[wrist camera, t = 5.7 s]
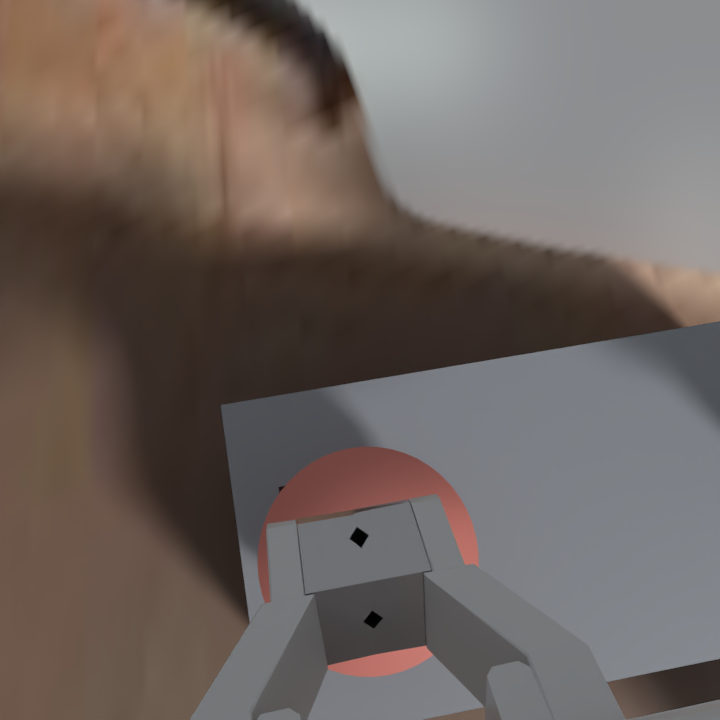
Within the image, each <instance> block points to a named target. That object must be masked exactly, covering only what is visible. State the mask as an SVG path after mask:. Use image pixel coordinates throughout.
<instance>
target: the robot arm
mask: <svg viewBox="0 0 720 720" xmlns="http://www.w3.org/2000/svg"><path fill="white" fill-rule="evenodd" d="M266 539H267V555H268V571H269V587H270V602H269V603H264V604H261V606H260V608H259V609H258V611H257V612H256V614H255V616H254V617H253V619H252V620H251V622H250V624H249V625H248V627H247V629H246V630H245V632H244V633H243V635H242V637H241V638H240V640H239V641H238V643H237V645H236V646H235V648H234V649H233V651H232V653H231V654H230V656H229V658H228V659H227V661H226V662H225V664H224V666H223V667H222V669H221V670H220V672H219V674H218V675H217V677H216V678H215V680H214V682H213V683H212V685H211V686H210V688H209V690H208V691H207V693H206V695H205V696H204V698H203V699H202V701H201V703H200V704H199V706H198V707H197V709H196V711H195V712H194V714H193V715H192V717H191V719H190V720H307V719H308V716H309V714H310V712H311V709H312V707H313V704H314V702H315V699H316V697H317V694H318V692H319V689H320V687H321V685H322V682H323V680H324V677H325V675H326V672H327V670H328V666H327V665H332V664H336V663H340V662H345V661H349V660H353V659H358V658H362V657H367V656H371V655H375V654H381V653H387V652H392V651H398V650H404V649H410V648H416V647H421V646H427V649H428V650H429V651H430V652H431V653H432V654H433V655H434V656H435V657H436V658H437V659H438V660H439V661H440V662H441V663H442V664H443V665H444V666H445V667H446V668H447V669H448V670H449V671H450V672H451V673H452V674H453V675H454V676H455V677H456V678H457V679H458V680H459V681H460V682H461V683H462V684H463V685H464V686H465V687H466V688H467V689H468V690H469V691H470V692H471V694H472V695H473V696H474V697H475V698H476V699H477V700H478V701H479V702H480V703H481V704H482V705H483V706H484V707H485V708H486V713H485V720H626V719H625V717H624V715H623V713H622V711H621V709H620V707H619V705H618V704H617V702H616V700H615V698H614V696H613V694H612V692H611V690H610V688H609V686H608V684H607V682H606V680H605V678H604V676H603V674H602V672H601V670H600V668H599V666H598V664H597V662H596V660H595V658H594V656H593V654H592V652H591V650H590V648H589V646H588V645H587V644H586V643H584V642H583V641H581V640H580V639H579V638H577V637H576V636H574V635H573V634H572V633H570V632H569V631H567V630H566V629H565V628H563V627H562V626H560V625H559V624H558V623H556V622H555V621H553V620H552V619H551V618H549V617H548V616H546V615H545V614H544V613H542V612H541V611H539V610H538V609H537V608H535V607H534V606H532V605H531V604H530V603H528V602H527V601H525V600H524V599H523V598H521V597H520V596H518V595H517V594H516V593H514V592H513V591H511V590H510V589H508V588H507V587H506V586H504V585H503V584H501V583H500V582H499V581H497V580H496V579H494V578H493V577H492V576H490V575H489V574H487V573H486V572H485V571H483V570H482V569H480V568H479V567H478V566H476V565H475V564H469V565H465V563H464V560H463V558H462V555H461V552H460V550H459V547H458V545H457V542H456V539H455V537H454V534H453V532H452V529H451V526H450V524H449V521H448V518H447V516H446V513H445V511H444V508H443V505H442V503H441V500H440V497H439V496H437V495H436V494H432V495H427V496H422V497H416V498H411V499H408V500H407V499H406V500H400V501H395V502H390V503H385V504H379V505H374V506H369V507H364V508H358V509H353V510H350V511H343V512H337V513H330V514H324V515H317V516H311V517H304V518H298V519H297V521H296V520H289V521H282V522H276V523H269V524H267V528H266ZM628 720H720V700H715V701H711V702H706V703H701V704H697V705H692V706H688V707H683V708H678V709H674V710H669V711H665V712H660V713H655V714H651V715H646V716H642V717H637V718H633V719H628Z"/></svg>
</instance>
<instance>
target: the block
mask: <svg viewBox="0 0 720 720" xmlns="http://www.w3.org/2000/svg"><path fill="white" fill-rule="evenodd" d="M221 412H222V419H223V427H224V434H225V442H226V449H227V457H228V464H229V472H230V479H231V486H232V494H233V501H234V509H235V516H236V524H237V531H238V539H239V546H240V554H241V561H242V569H243V576H244V584H245V591H246V599H247V606H248V614H249V621H250V622H251V620H252V619H253V617H254V616H255V614H256V612H257V611H258V609H259V608H260V606H261V604H264V603H265V601H264V599H263V596H262V592H261V588H260V583H259V577H258V563H257V562H258V547H259V541H260V535H261V531H262V528H263V525H264V522H265V519H266V516H267V514H268V512H269V510H270V508H271V506H272V504H273V502H274V501H275V499H276V497H277V496H278V494H279V493H280V492H281V490H282V489H283V488H284V487H285V485H286V484H287V483H288V482H289V481H290V480H291V479H292V478H293V477H294V476H295V475H296V474H297V473H298V472H299V471H301V470H302V469H303V468H305V467H306V466H308V465H309V464H310V463H312V462H314V461H316V460H318V459H319V458H321V457H323V456H326V455H328V454H331V453H333V452H336V451H340V450H344V449H348V448H355V447H381V448H388V449H393V450H396V451H400V452H403V453H406V454H408V455H410V456H413V457H415V458H417V459H419V460H421V461H422V462H424V463H426V464H427V465H429V466H430V467H432V468H433V469H434V470H435V471H437V472H438V473H439V474H440V475H441V476H442V477H443V478H444V479H445V480H446V481H447V482H448V483H449V484H450V485H451V486H452V487H453V489H454V490H455V491H456V493H457V494H458V495H459V497H460V498H461V500H462V502H463V504H464V506H465V507H466V509H467V511H468V514H469V516H470V519H471V521H472V523H473V527H474V531H475V535H476V539H477V546H478V556H479V568H480V569H482V570H483V571H485V572H486V573H487V574H489V575H490V576H492V577H493V578H494V579H496V580H497V581H499V582H500V583H501V584H503V585H504V586H506V587H507V588H508V589H510V590H511V591H513V592H514V593H516V594H517V595H518V596H520V597H521V598H523V599H524V600H525V601H527V602H528V603H530V604H531V605H532V606H534V607H535V608H537V609H538V610H539V611H541V612H542V613H544V614H545V615H546V616H548V617H549V618H551V619H552V620H553V621H555V622H556V623H558V624H559V625H560V626H562V627H563V628H565V629H566V630H567V631H569V632H570V633H572V634H573V635H574V636H576V637H577V638H579V639H580V640H581V641H583V642H584V643H586V644H587V645H588V646H589V648H590V650H591V652H592V654H593V656H594V658H595V660H596V662H597V664H598V666H599V668H600V670H601V672H602V674H603V676H604V678H605V680H606V682H609V681H614V680H618V679H623V678H628V677H633V676H638V675H643V674H648V673H653V672H658V671H662V670H667V669H672V668H677V667H682V666H687V665H692V664H697V663H702V662H706V661H711V660H716V659H720V322H714V323H708V324H702V325H696V326H690V327H684V328H678V329H672V330H666V331H660V332H654V333H648V334H642V335H636V336H630V337H624V338H618V339H612V340H606V341H600V342H594V343H588V344H582V345H576V346H570V347H564V348H558V349H552V350H546V351H541V352H535V353H529V354H523V355H517V356H511V357H505V358H499V359H493V360H487V361H481V362H475V363H469V364H463V365H457V366H451V367H445V368H439V369H433V370H427V371H421V372H415V373H409V374H403V375H397V376H391V377H385V378H379V379H373V380H367V381H361V382H355V383H349V384H343V385H337V386H331V387H325V388H319V389H313V390H307V391H301V392H296V393H290V394H284V395H278V396H272V397H266V398H260V399H254V400H248V401H242V402H236V403H230V404H224V405H221ZM481 707H484V706H483V705H482V704H481V703H480V702H479V701H478V700H477V699H476V698H475V697H474V696H473V695H472V694H471V692H470V691H469V690H468V689H467V688H466V687H465V686H464V685H463V684H462V683H461V682H460V681H459V680H458V679H457V678H456V677H455V676H454V675H453V674H452V673H451V672H450V671H449V670H448V669H447V668H446V667H445V666H444V665H443V664H442V663H441V662H440V661H439V660H438V659H437V658H436V657H435V656H434V655H432V656H431V657H430V658H428V659H427V660H425V661H423V662H422V663H420V664H418V665H416V666H414V667H412V668H409V669H407V670H405V671H402V672H398V673H395V674H391V675H385V676H377V677H358V676H352V675H345V674H342V673H338V672H335V671H332V670H329V669H328V670H327V672H326V675H325V677H324V680H323V682H322V685H321V687H320V689H319V692H318V694H317V697H316V699H315V702H314V704H313V707H312V709H311V712H310V714H309V716H308V719H307V720H423V719H428V718H433V717H437V716H442V715H447V714H452V713H457V712H462V711H467V710H472V709H477V708H481Z"/></svg>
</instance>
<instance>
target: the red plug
mask: <svg viewBox="0 0 720 720" xmlns="http://www.w3.org/2000/svg"><path fill="white" fill-rule="evenodd" d="M432 494H436V495H437V496H439V497H440V500H441V503H442V505H443V508H444V511H445V513H446V516H447V518H448V521H449V524H450V526H451V529H452V532H453V534H454V537H455V539H456V542H457V545H458V547H459V550H460V552H461V555H462V558H463V560H464V563H465V565H469V564H475V565H476V566H478V567H479V556H478V546H477V539H476V535H475V531H474V527H473V523H472V521H471V519H470V516H469V514H468V511H467V509H466V507H465V506H464V504H463V502H462V500H461V498H460V497H459V495H458V494H457V493H456V491H455V490H454V489H453V487H452V486H451V485H450V484H449V483H448V482H447V481H446V480H445V479H444V478H443V477H442V476H441V475H440V474H439V473H438V472H437V471H435V470H434V469H433V468H432V467H430V466H429V465H427V464H426V463H424V462H422V461H421V460H419V459H417V458H415V457H413V456H410V455H408V454H406V453H403V452H400V451H396V450H393V449H388V448H381V447H355V448H348V449H344V450H340V451H336V452H333V453H331V454H328V455H326V456H323V457H321V458H319V459H318V460H316V461H314V462H312V463H310V464H309V465H308V466H306V467H305V468H303V469H302V470H301V471H299V472H298V473H297V474H296V475H295V476H294V477H293V478H292V479H291V480H290V481H289V482H288V483H287V484H286V485H285V487H284V488H283V489H282V490H281V492H280V493H279V494H278V496H277V497H276V499H275V501H274V502H273V504H272V506H271V508H270V510H269V512H268V514H267V516H266V519H265V522H264V525H263V528H262V531H261V535H260V541H259V547H258V562H257V563H258V577H259V583H260V588H261V592H262V596H263V599H264V601H265V603H269V602H270V587H269V571H268V555H267V539H266V528H267V524H269V523H276V522H282V521H289V520H296V521H297V519H298V518H304V517H311V516H317V515H324V514H330V513H337V512H343V511H350V510H353V509H358V508H364V507H369V506H374V505H379V504H385V503H390V502H395V501H400V500H406V499H407V500H408V499H411V498H416V497H422V496H427V495H432ZM432 655H433V654H432V653H431V652H430V651H429V650H428V649H427V646H421V647H416V648H410V649H404V650H398V651H392V652H387V653H381V654H375V655H371V656H367V657H362V658H358V659H353V660H349V661H345V662H340V663H336V664H332V665H327V666H328V669H329V670H332V671H335V672H338V673H342V674H345V675H352V676H358V677H377V676H385V675H391V674H395V673H398V672H402V671H405V670H407V669H409V668H412V667H414V666H416V665H418V664H420V663H422V662H423V661H425V660H427V659H428V658H430V657H431V656H432Z"/></svg>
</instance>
